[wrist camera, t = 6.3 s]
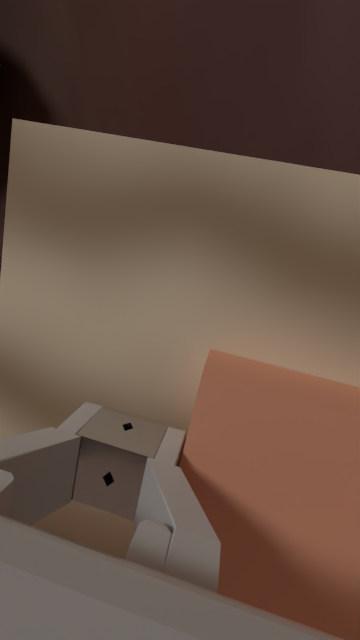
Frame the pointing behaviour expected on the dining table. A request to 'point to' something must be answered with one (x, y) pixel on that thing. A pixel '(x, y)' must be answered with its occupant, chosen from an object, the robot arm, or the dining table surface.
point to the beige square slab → (163, 282)
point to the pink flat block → (280, 488)
